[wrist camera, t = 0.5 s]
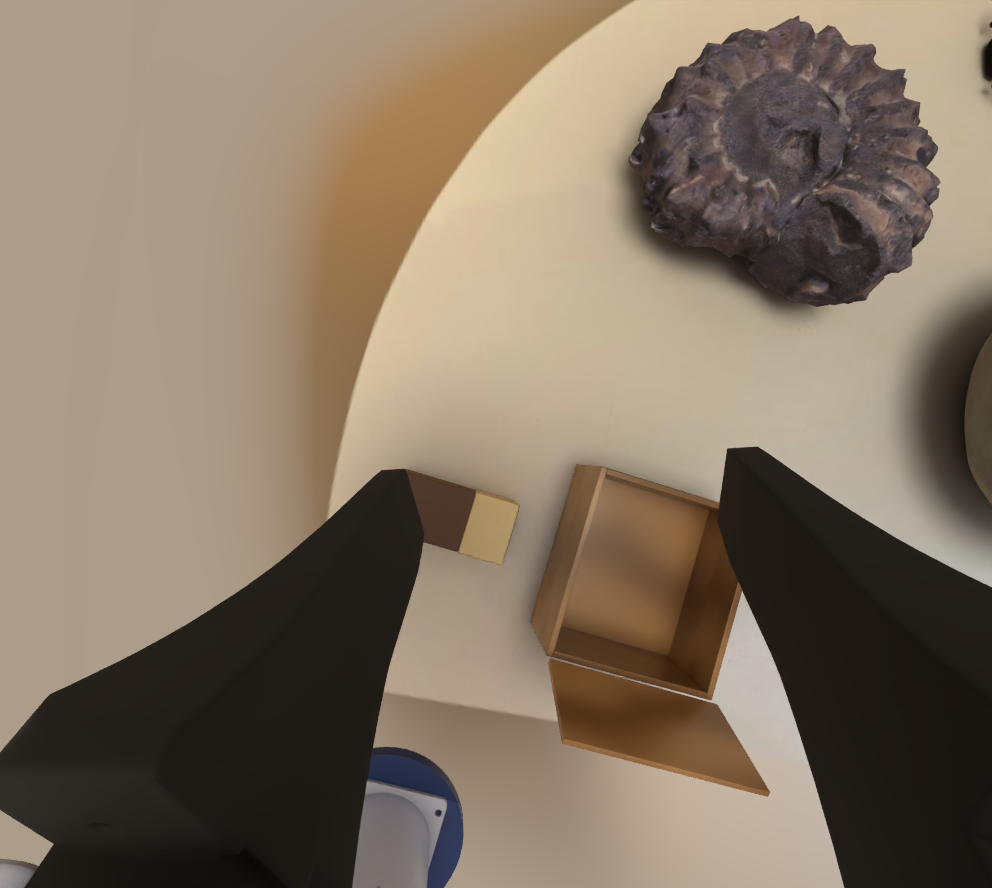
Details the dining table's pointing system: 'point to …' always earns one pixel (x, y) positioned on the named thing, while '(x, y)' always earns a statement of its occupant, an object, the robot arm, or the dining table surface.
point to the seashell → (791, 162)
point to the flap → (650, 727)
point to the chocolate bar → (463, 517)
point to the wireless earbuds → (989, 57)
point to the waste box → (638, 583)
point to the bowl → (980, 420)
